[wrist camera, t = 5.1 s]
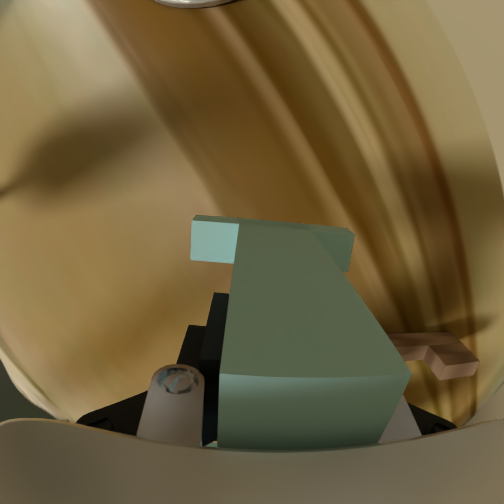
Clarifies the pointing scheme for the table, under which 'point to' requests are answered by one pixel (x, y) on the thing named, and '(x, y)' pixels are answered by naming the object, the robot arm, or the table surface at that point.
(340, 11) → the table surface
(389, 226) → the table surface
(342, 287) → the teal notched bracket
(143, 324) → the table surface
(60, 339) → the table surface
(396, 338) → the brown u-shaped block
